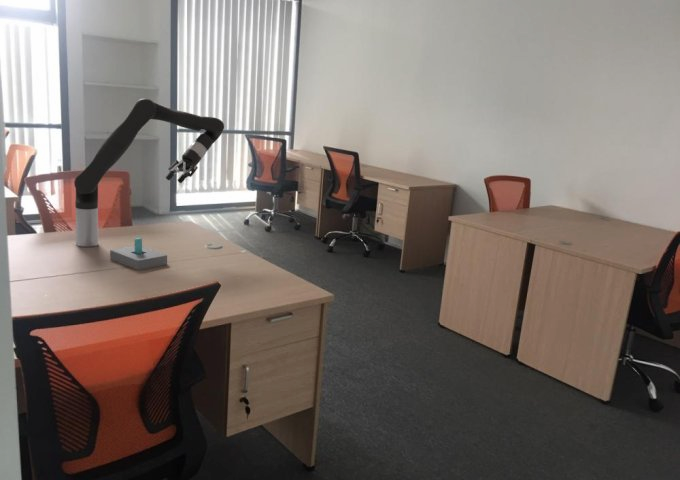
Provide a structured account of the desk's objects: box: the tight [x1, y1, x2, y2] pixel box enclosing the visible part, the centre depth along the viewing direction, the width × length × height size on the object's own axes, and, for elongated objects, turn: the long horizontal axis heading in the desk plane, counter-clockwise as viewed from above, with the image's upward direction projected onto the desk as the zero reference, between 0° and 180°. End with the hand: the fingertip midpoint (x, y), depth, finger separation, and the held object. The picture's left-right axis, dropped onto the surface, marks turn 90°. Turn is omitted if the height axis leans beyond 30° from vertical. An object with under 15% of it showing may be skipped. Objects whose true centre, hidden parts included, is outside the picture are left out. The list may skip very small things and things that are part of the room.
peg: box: [134, 237, 143, 255], centre depth 248 cm, size 3×3×10 cm
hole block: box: [109, 245, 168, 271], centre depth 248 cm, size 20×14×4 cm
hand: (173, 180), depth 260 cm, fingers open, 8 cm apart
